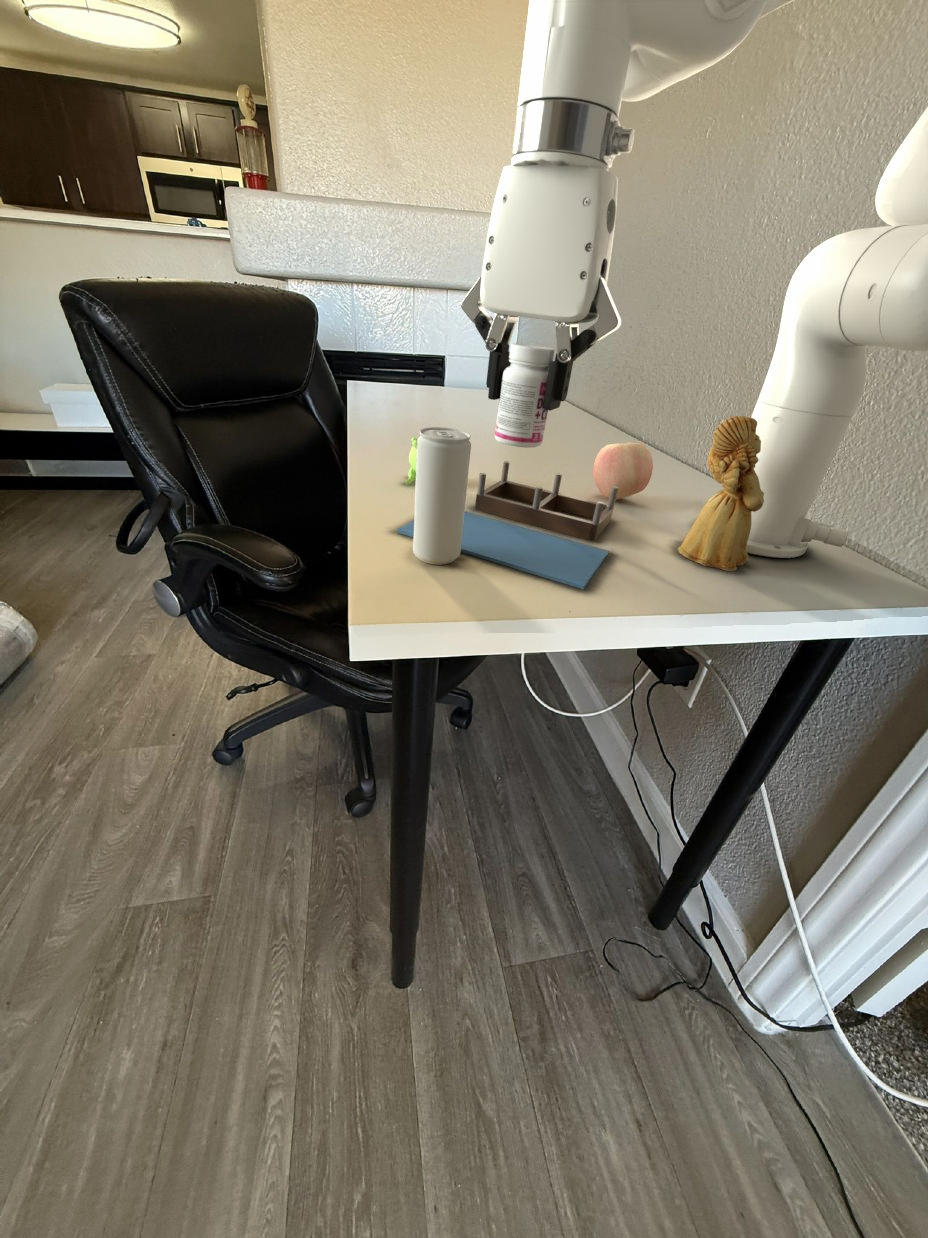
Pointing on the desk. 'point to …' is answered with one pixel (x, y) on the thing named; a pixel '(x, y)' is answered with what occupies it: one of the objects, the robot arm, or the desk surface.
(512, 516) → the brown divided tray
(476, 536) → the mat
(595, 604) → the desk surface
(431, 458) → the beverage can
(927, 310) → the robot arm
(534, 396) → the pill bottle
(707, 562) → the figurine
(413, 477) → the green toy figure
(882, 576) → the desk surface
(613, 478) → the peach
